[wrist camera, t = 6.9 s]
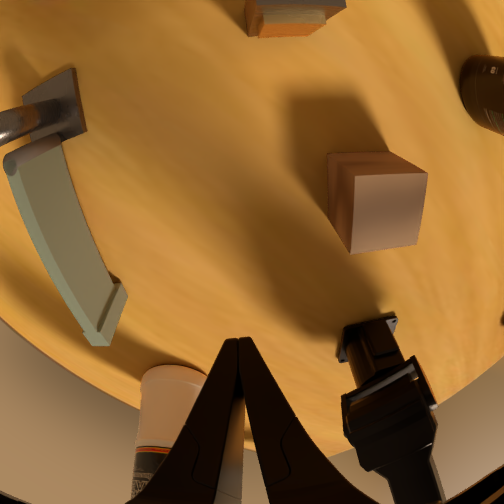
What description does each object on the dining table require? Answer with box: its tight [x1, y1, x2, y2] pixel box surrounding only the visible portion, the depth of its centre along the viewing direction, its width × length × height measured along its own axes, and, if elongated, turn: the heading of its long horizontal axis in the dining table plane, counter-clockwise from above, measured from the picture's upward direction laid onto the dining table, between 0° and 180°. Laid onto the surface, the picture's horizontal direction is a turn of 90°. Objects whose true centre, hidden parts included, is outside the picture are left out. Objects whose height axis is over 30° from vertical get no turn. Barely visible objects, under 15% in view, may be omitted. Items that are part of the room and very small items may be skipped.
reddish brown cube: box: [327, 152, 428, 255], centre depth 17 cm, size 5×5×5 cm
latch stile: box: [244, 0, 347, 38], centre depth 10 cm, size 2×4×7 cm
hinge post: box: [0, 68, 87, 146], centre depth 11 cm, size 5×5×7 cm
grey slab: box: [3, 133, 128, 346], centre depth 17 cm, size 15×2×6 cm, turn 7°
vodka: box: [131, 365, 207, 499], centre depth 19 cm, size 9×9×30 cm
